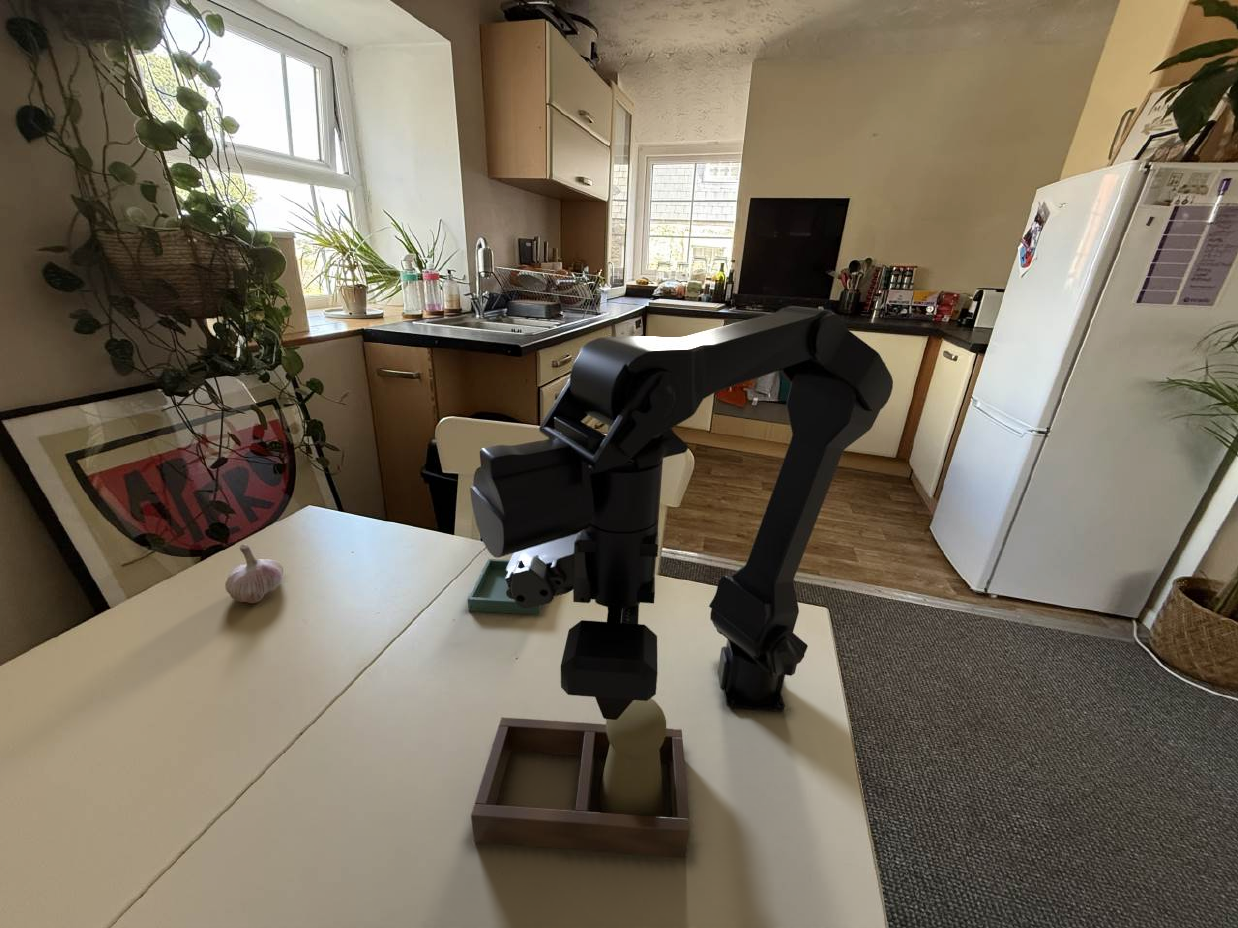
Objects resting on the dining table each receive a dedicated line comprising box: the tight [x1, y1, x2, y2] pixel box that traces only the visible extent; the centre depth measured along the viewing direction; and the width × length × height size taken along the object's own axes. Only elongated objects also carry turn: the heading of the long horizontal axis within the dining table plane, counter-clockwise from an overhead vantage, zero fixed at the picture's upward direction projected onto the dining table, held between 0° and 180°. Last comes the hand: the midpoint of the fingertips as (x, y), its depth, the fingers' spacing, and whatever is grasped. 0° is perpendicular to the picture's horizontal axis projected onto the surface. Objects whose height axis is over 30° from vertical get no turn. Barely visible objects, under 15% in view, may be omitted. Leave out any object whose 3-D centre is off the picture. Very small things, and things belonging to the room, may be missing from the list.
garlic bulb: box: [224, 543, 285, 604], centre depth 70 cm, size 8×7×8 cm
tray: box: [467, 558, 543, 616], centre depth 73 cm, size 10×10×2 cm
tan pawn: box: [598, 698, 668, 817], centre depth 44 cm, size 6×6×11 cm
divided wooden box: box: [470, 716, 691, 858], centre depth 45 cm, size 18×10×4 cm, turn 87°
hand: (614, 672), depth 43 cm, fingers open, 9 cm apart
